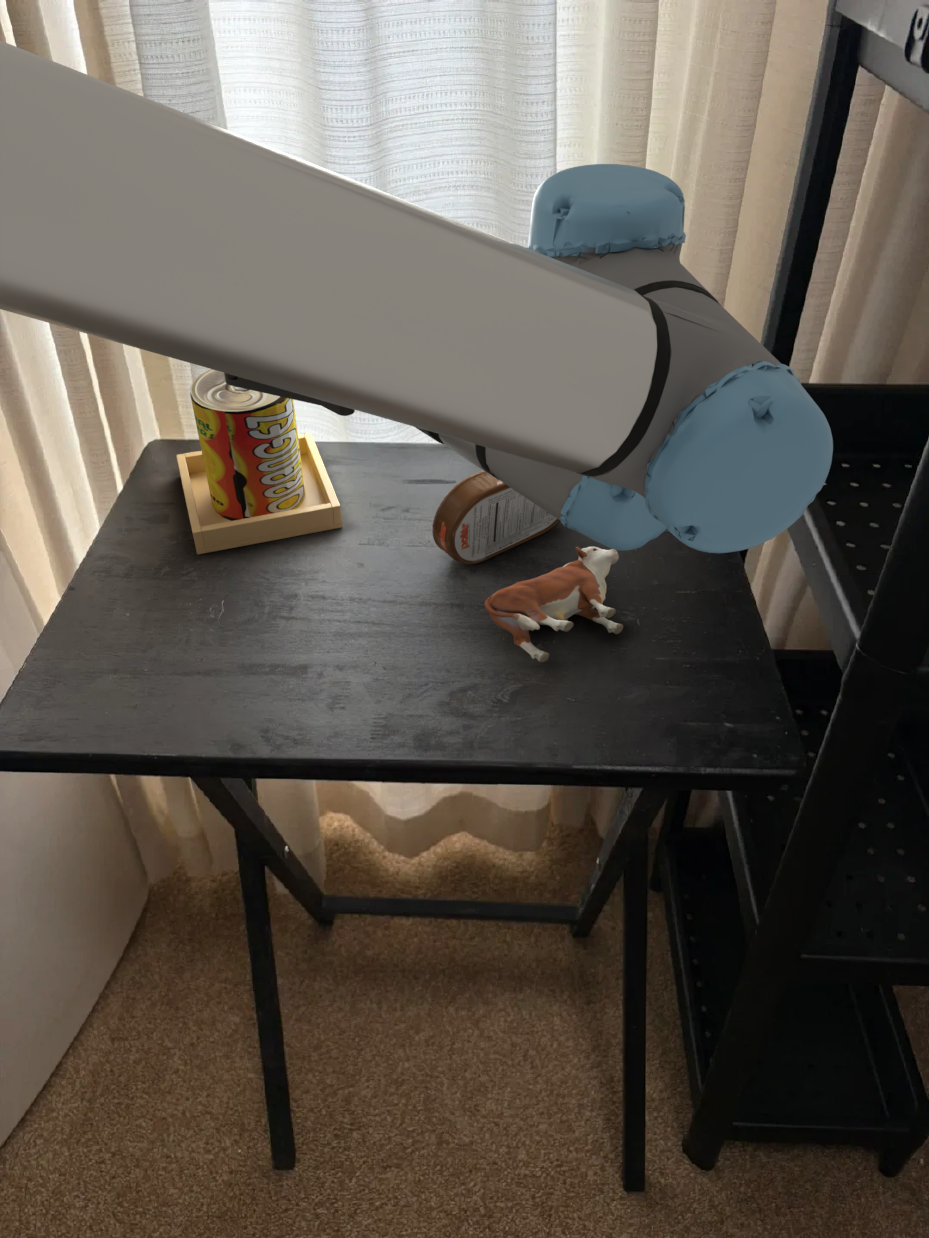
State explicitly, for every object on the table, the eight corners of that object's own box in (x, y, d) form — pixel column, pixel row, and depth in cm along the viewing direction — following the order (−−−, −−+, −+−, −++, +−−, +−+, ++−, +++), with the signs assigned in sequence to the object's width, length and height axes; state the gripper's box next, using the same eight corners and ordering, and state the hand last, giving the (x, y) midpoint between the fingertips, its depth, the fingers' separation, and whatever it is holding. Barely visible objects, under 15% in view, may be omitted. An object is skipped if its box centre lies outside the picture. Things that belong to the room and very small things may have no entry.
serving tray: (197, 554, 96) (192, 533, 94) (180, 475, 105) (175, 454, 104) (342, 527, 99) (340, 505, 97) (313, 453, 109) (310, 432, 107)
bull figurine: (662, 580, 86) (601, 527, 91) (528, 638, 81) (471, 579, 86) (654, 619, 89) (596, 566, 94) (525, 677, 84) (470, 618, 89)
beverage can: (198, 519, 99) (174, 407, 91) (229, 467, 106) (209, 358, 98) (290, 527, 98) (274, 415, 90) (315, 474, 105) (302, 365, 97)
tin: (557, 507, 101) (563, 432, 96) (579, 522, 99) (586, 447, 94) (430, 565, 95) (428, 488, 89) (451, 583, 93) (450, 505, 87)
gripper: (316, 519, 62) (145, 385, 74) (606, 383, 74) (419, 287, 86) (303, 408, 57) (122, 284, 69) (616, 282, 69) (416, 195, 81)
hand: (287, 285), depth 78 cm, fingers open, 13 cm apart
